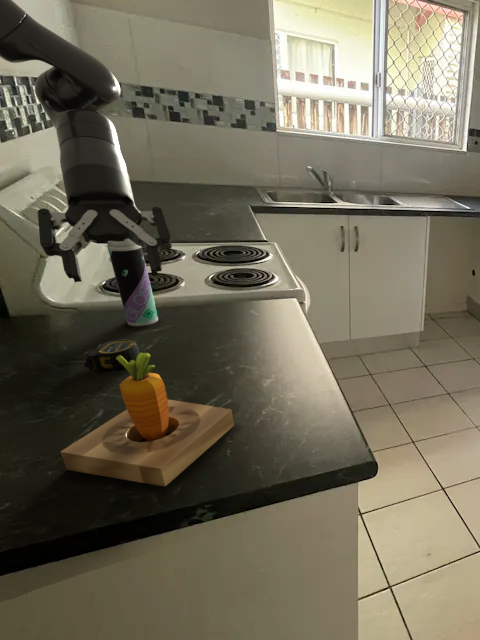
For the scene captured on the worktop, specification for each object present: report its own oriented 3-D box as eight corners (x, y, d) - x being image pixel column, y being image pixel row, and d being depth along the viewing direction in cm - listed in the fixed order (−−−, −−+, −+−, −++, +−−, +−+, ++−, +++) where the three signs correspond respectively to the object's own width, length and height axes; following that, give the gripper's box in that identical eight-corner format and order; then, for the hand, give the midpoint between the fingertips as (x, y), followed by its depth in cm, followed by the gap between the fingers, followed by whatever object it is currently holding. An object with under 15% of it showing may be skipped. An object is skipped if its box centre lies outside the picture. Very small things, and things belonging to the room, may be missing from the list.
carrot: (128, 449, 67) (100, 356, 61) (163, 431, 71) (140, 342, 65) (152, 460, 65) (126, 365, 59) (186, 441, 70) (165, 350, 64)
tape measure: (104, 356, 89) (98, 338, 87) (147, 354, 91) (142, 337, 89) (87, 374, 83) (81, 355, 81) (133, 372, 85) (128, 353, 83)
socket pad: (66, 470, 62) (59, 451, 61) (151, 412, 75) (147, 396, 74) (165, 487, 61) (160, 468, 60) (234, 425, 74) (231, 409, 73)
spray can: (134, 328, 100) (110, 234, 92) (122, 320, 103) (98, 229, 94) (163, 321, 104) (142, 230, 96) (151, 314, 107) (130, 225, 98)
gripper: (21, 159, 62) (40, 268, 59) (153, 163, 71) (176, 258, 67) (38, 194, 68) (56, 294, 65) (158, 193, 77) (179, 282, 73)
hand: (117, 276), depth 66 cm, fingers open, 8 cm apart
